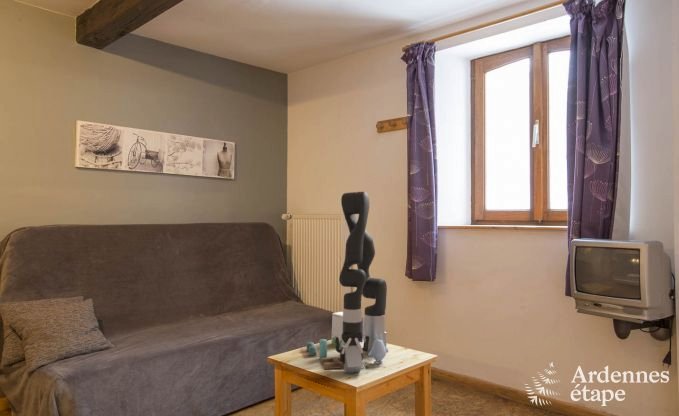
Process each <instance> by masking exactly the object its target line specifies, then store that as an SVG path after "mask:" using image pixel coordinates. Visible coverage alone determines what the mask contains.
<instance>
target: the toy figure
mask: <svg viewBox="0 0 679 416" xmlns="http://www.w3.org/2000/svg"><path fill="white" fill-rule="evenodd" d="M381 339H382V334H380V337H379V339H378V336H377V335H376V336H375V342H374V344H373V346H372V349H371V351H370V352H369V354H367V355H368V357H371V356H372V358H373V359H374V360H375V361H373V364H374V365H378V364H382V363H383V360H384V358H385V357H386V355H387V354H388V353H389V349H388V347H387V346H386V347H385V346H384V344H383V342H382V340H381Z"/></svg>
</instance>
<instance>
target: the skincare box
mask: <svg viewBox="0 0 679 416" xmlns="http://www.w3.org/2000/svg"><path fill="white" fill-rule="evenodd" d="M342 332H343V311H338V312H332V319H331V343H330V344H331V345H334V346H335V338H334V337H335V336H337V337H338V336H341V335H342ZM340 343H342V339H341V341H340V342H339V346H340Z"/></svg>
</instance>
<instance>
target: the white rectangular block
mask: <svg viewBox="0 0 679 416" xmlns="http://www.w3.org/2000/svg"><path fill="white" fill-rule="evenodd" d="M343 343H344V346H345V342H344V341H343V340H342V343H341V347H342V345H343ZM344 354H345V363H344V366H343V367H344V369H343V370H344V374H351V373H361V372H362V369H363V368H364V364H363V360H362V356H361V350H360V348H358V346H357V345H356V346H348V348H347V349H346V348H345V353H344Z"/></svg>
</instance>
